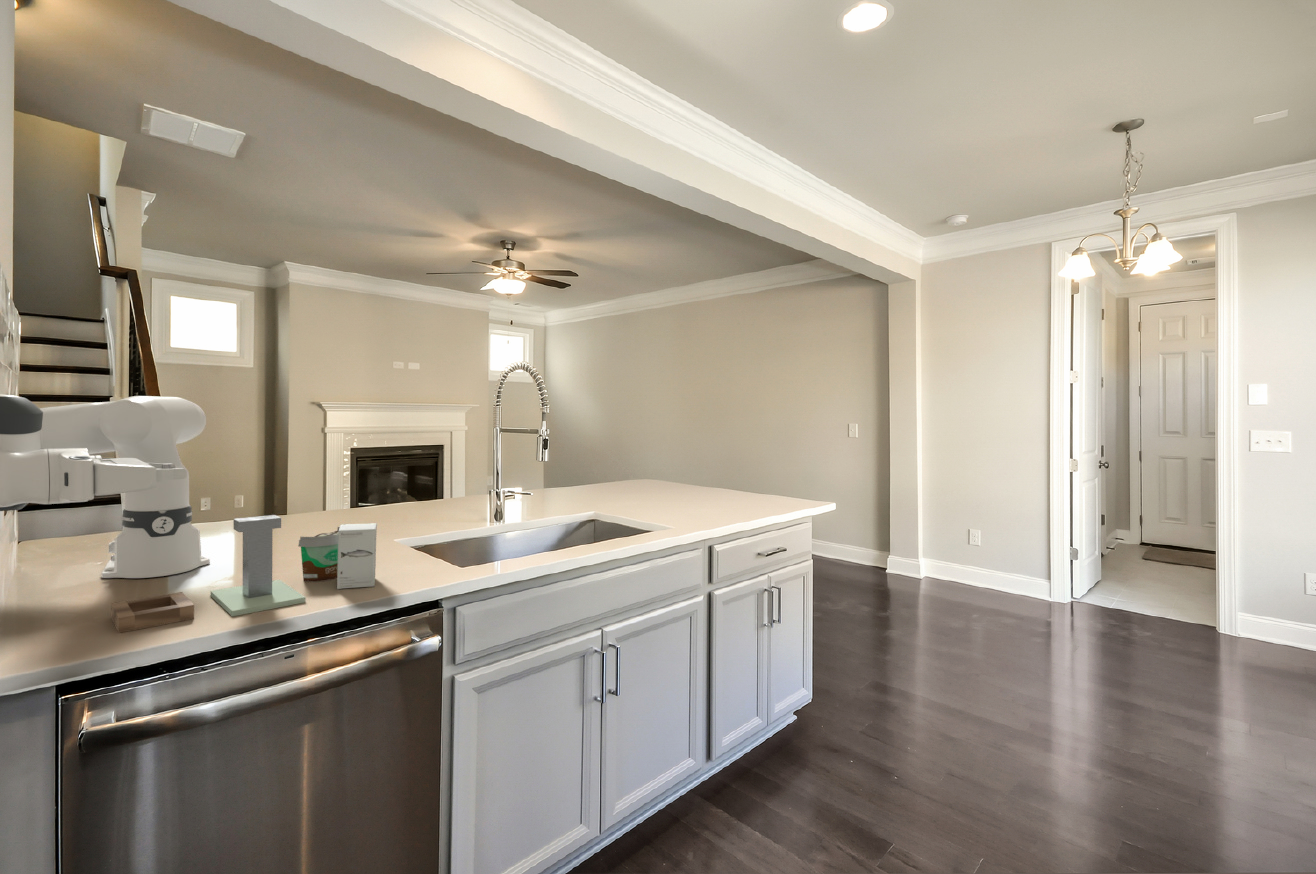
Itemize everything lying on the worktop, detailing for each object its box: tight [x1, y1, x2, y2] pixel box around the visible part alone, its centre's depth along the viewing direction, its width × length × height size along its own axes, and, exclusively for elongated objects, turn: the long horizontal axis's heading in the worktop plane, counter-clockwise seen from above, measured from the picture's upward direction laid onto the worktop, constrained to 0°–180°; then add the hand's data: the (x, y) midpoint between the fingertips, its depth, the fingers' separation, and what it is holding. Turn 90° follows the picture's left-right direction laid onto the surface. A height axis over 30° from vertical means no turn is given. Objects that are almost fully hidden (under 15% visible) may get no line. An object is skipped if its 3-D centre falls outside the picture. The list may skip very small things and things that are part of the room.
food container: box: [297, 526, 340, 583], centre depth 135 cm, size 12×6×10 cm, turn 168°
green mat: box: [210, 579, 307, 617], centre depth 119 cm, size 16×12×1 cm
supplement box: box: [336, 522, 378, 590], centre depth 130 cm, size 7×7×13 cm
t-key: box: [233, 514, 282, 599], centre depth 118 cm, size 4×7×15 cm, turn 138°
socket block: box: [110, 591, 195, 634], centre depth 107 cm, size 10×10×2 cm
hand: (180, 470), depth 109 cm, fingers open, 8 cm apart
